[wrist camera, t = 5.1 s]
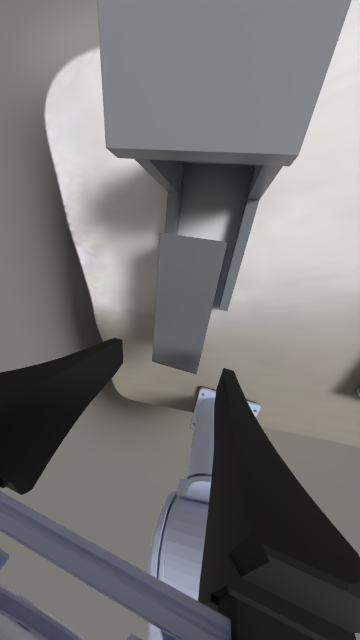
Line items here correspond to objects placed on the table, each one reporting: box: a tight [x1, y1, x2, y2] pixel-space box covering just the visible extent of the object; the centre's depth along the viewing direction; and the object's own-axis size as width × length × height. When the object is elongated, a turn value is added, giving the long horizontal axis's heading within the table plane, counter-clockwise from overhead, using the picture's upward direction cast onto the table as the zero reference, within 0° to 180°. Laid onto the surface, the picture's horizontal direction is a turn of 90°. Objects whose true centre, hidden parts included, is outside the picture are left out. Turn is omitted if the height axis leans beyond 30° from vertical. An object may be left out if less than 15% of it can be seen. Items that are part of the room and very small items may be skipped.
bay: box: [97, 0, 351, 311], centre depth 11 cm, size 12×7×9 cm, turn 172°
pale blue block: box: [152, 233, 228, 374], centre depth 14 cm, size 11×4×6 cm, turn 172°
